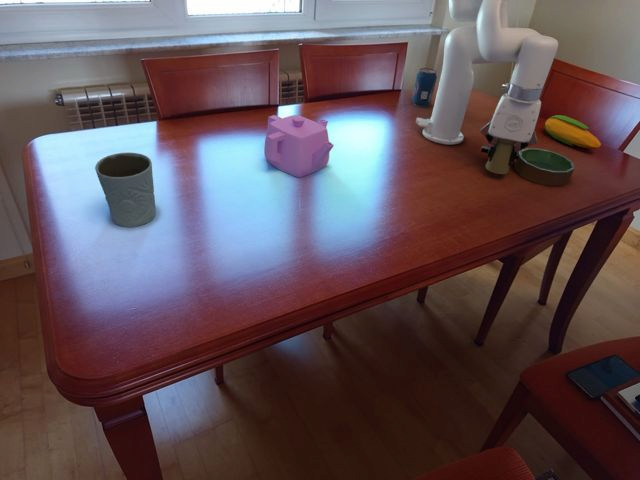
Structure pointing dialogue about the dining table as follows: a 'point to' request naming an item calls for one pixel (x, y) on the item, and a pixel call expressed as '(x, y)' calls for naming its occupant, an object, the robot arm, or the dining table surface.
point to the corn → (571, 132)
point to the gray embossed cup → (128, 188)
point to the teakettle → (297, 144)
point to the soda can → (424, 87)
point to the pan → (542, 166)
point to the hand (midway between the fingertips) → (499, 160)
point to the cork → (501, 156)
